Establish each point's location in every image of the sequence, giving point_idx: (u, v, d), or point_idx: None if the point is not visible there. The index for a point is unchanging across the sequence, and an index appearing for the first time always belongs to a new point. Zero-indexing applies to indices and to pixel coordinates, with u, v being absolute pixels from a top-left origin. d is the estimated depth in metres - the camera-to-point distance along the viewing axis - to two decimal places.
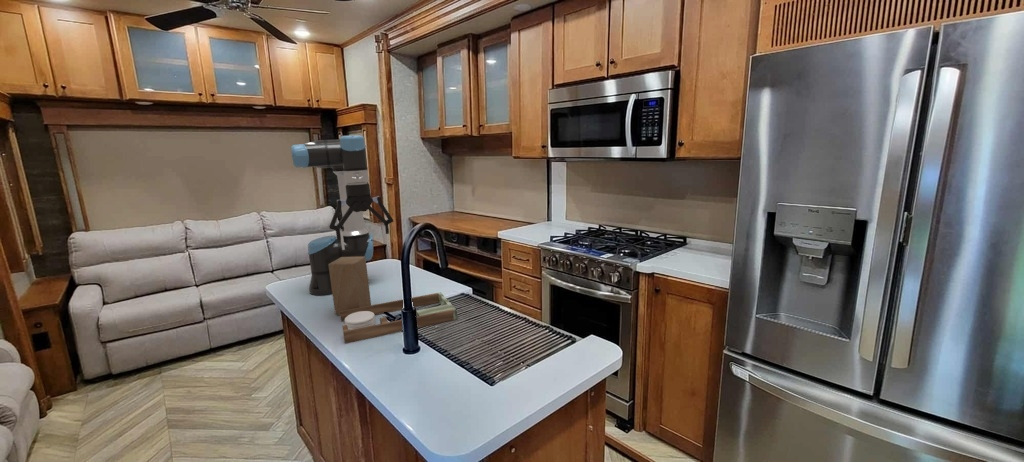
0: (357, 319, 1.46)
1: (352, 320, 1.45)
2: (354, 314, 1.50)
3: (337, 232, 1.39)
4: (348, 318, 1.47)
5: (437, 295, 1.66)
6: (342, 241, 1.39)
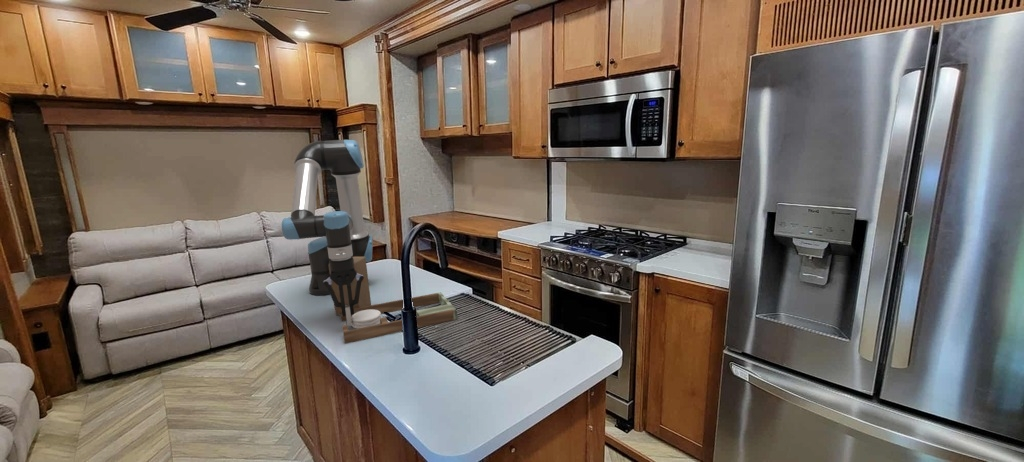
0: (363, 317, 1.47)
1: (358, 318, 1.46)
2: (360, 312, 1.51)
3: (342, 309, 1.44)
4: (354, 316, 1.48)
5: (437, 295, 1.66)
6: (347, 318, 1.44)
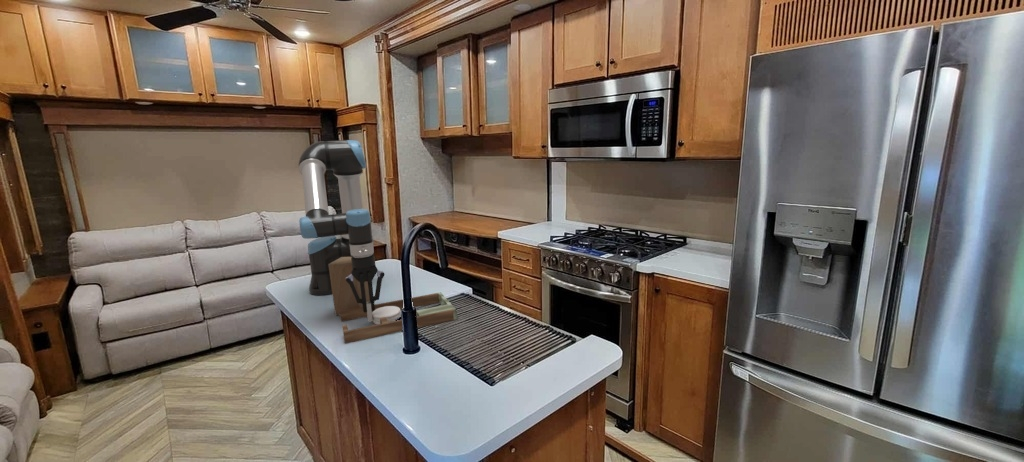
0: (384, 313, 1.49)
1: (379, 314, 1.49)
2: (380, 309, 1.54)
3: (364, 305, 1.47)
4: (375, 312, 1.50)
5: (437, 295, 1.66)
6: (368, 313, 1.47)
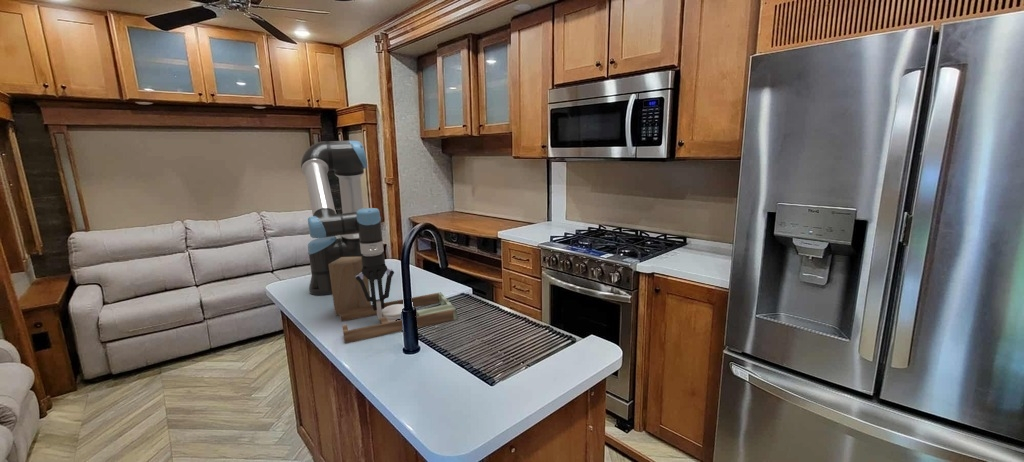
0: (393, 311, 1.51)
1: (388, 312, 1.50)
2: (390, 307, 1.55)
3: (373, 303, 1.48)
4: (384, 310, 1.52)
5: (437, 295, 1.66)
6: (378, 311, 1.48)
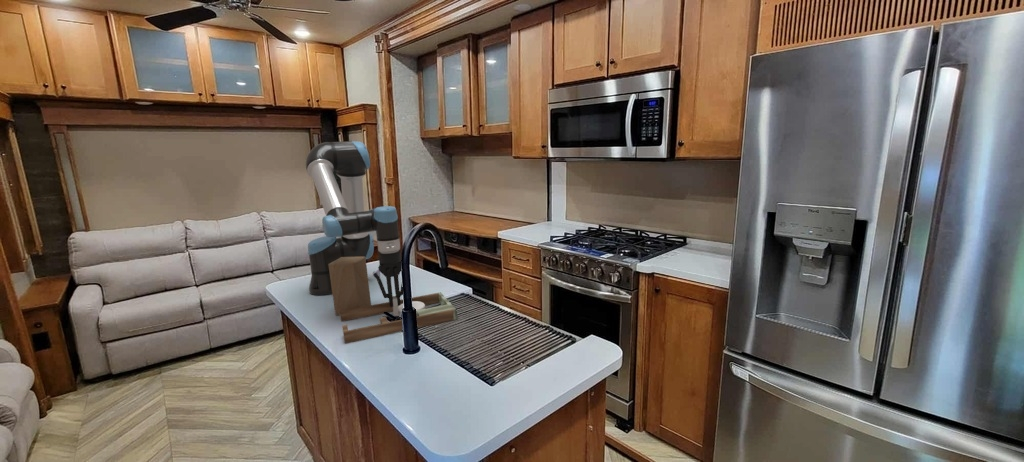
0: None
1: None
2: None
3: (390, 300, 1.50)
4: (400, 307, 1.54)
5: (437, 295, 1.66)
6: (394, 308, 1.51)
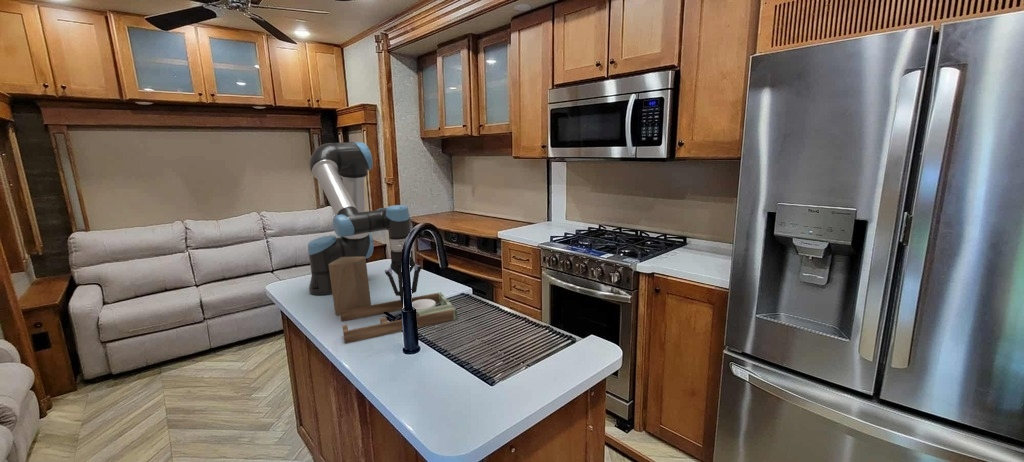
0: (420, 306, 1.55)
1: (415, 307, 1.54)
2: (416, 302, 1.59)
3: (402, 298, 1.52)
4: None
5: (437, 295, 1.66)
6: None
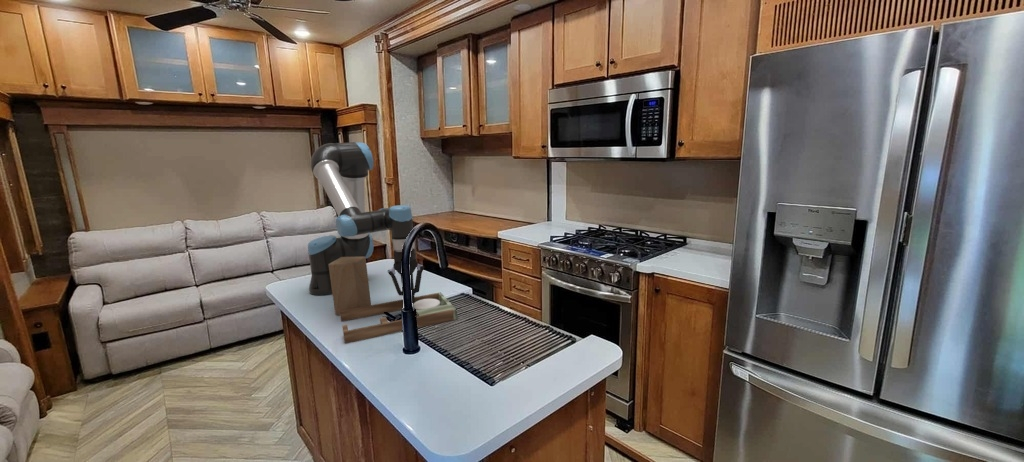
0: (425, 305, 1.55)
1: (420, 306, 1.55)
2: (421, 301, 1.60)
3: None
4: (416, 304, 1.57)
5: (437, 295, 1.66)
6: None
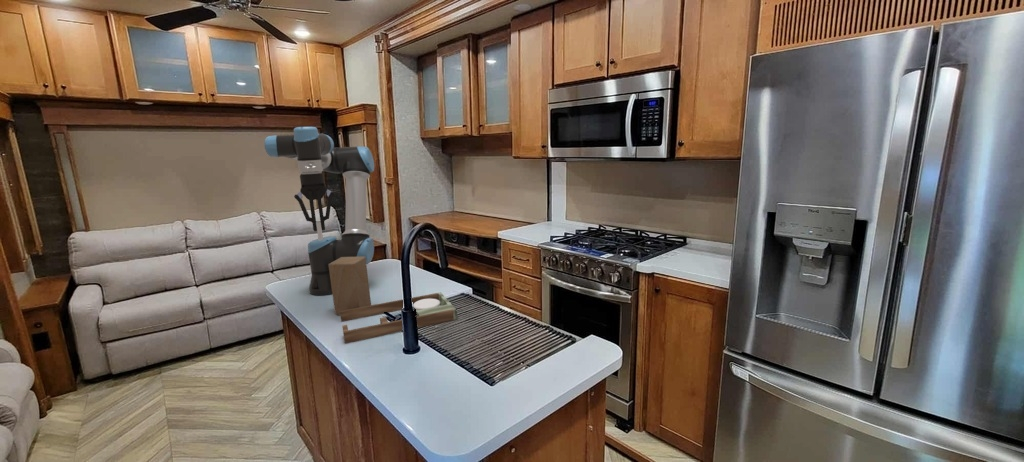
0: (425, 305, 1.55)
1: (420, 306, 1.55)
2: (421, 301, 1.60)
3: (313, 224, 1.48)
4: (416, 304, 1.57)
5: (437, 295, 1.66)
6: (318, 232, 1.49)
